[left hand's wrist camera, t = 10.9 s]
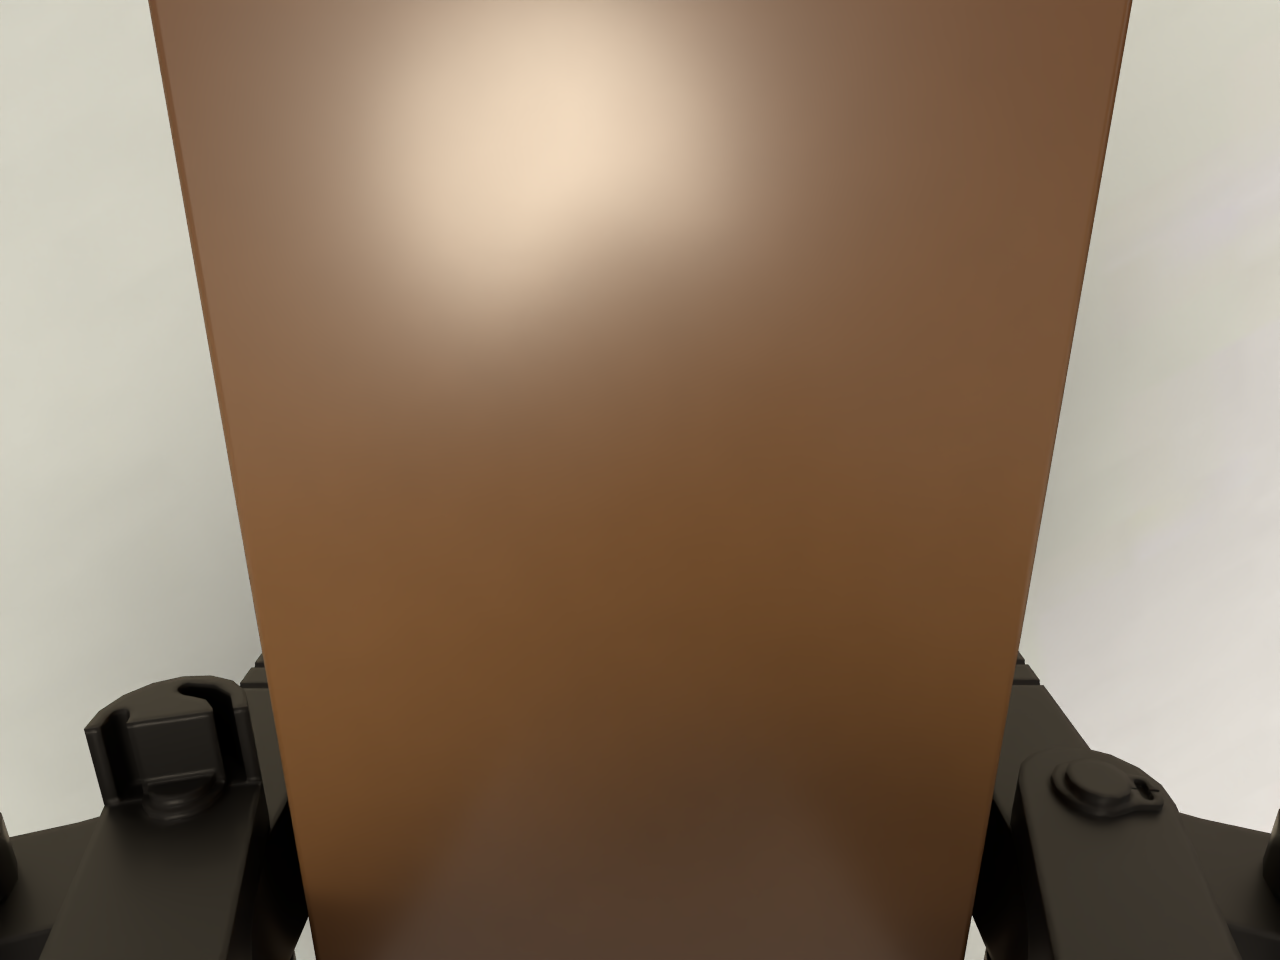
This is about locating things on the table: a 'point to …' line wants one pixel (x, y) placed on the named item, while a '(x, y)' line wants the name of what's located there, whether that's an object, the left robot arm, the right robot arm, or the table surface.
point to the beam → (640, 447)
